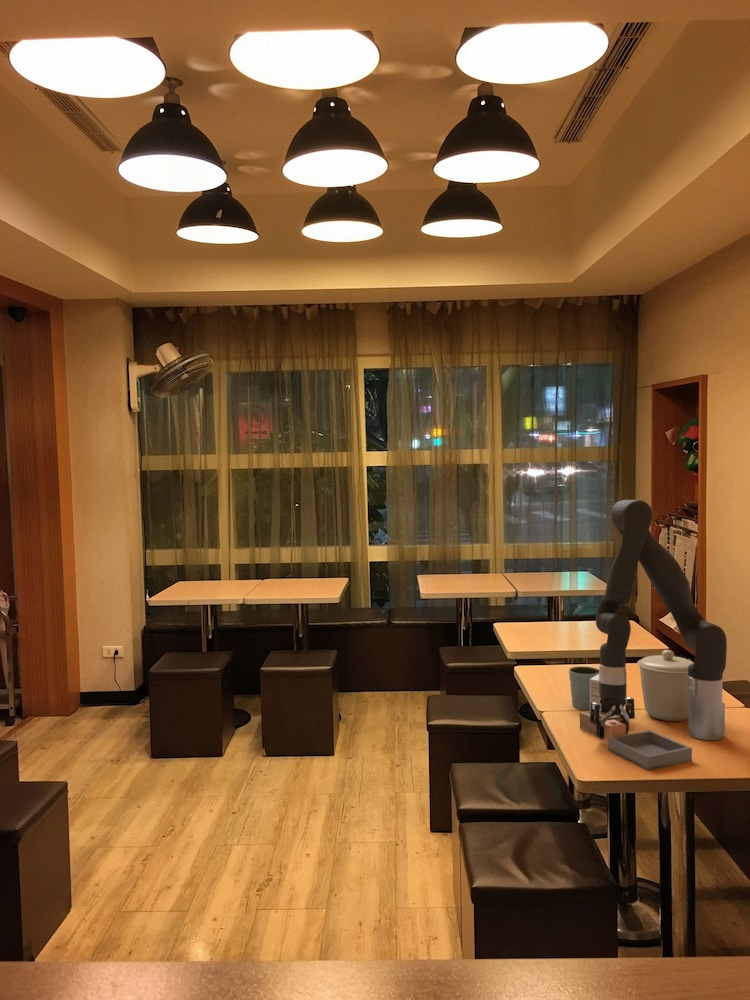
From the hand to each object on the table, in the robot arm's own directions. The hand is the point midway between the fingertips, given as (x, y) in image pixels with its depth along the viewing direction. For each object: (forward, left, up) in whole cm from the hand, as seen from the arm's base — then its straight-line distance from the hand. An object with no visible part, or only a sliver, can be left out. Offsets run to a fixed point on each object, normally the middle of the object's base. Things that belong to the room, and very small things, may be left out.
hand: (612, 735), depth 203 cm
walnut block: (-2, -8, -1) cm, 8 cm away
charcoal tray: (-1, +13, -1) cm, 13 cm away
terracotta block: (0, 0, -1) cm, 1 cm away
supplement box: (-11, -16, -1) cm, 20 cm away
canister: (-30, -9, -1) cm, 31 cm away
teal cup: (-13, -28, -1) cm, 31 cm away
